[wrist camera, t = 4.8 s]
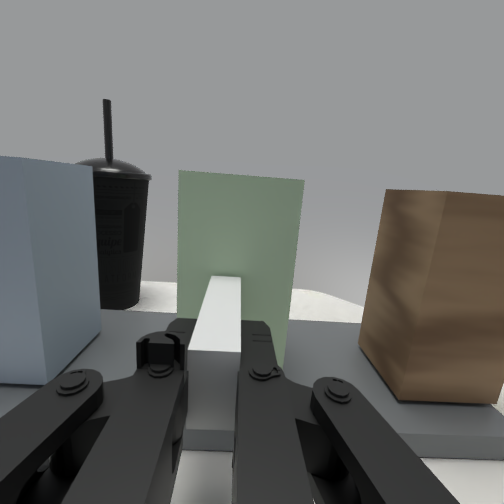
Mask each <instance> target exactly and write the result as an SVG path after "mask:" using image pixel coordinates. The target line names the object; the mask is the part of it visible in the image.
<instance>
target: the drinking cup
mask: <svg viewBox="0 0 504 504" xmlns="http://www.w3.org/2000/svg"><path fill="white" fill-rule="evenodd" d="M103 115H104V116H103V117H104V137H105V138H104V139H105V158H96V159H88V160H84V161H80V162H78V163H76V164H78V165H86V166H92V172H93V189H94V207H95V224H96V242H97V259H98V277H99V294H100V309H107V310H122V309H126V308H129V307H132V306H134V305H135V304H137V303H138V301H139V295H140V282H141V270H142V258H143V245H144V233H145V221H146V208H147V196H148V184H149V180H151V179H152V178H151V177H152V176H151V175H150V174H146V173H145V172H144V171H142V170H140V169H139V168H138V167H136V166H134V165H132V164H129V163H126V162H123V161H120V160H116V159H113V143H112V142H113V141H112V116H111V101H110V100H107V99H103Z"/></svg>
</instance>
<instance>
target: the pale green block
mask: <svg viewBox="0 0 504 504" xmlns="http://www.w3.org/2000/svg"><path fill="white" fill-rule="evenodd" d="M304 182H305V181H304V180H297V179H283V178H271V177H259V176H258V177H257V176H246V175H233V174H220V173H208V172H195V171H182V170H179V190H178V264H177V267H178V268H177V272H178V273H177V318H193V319H198V316H199V313H200V310H201V307H202V304H203V300H204V297H205V294H206V291H207V288H208V285H209V282H210V279H211V276H228V277H241V320H252V321H264V322H265V323H266V324H267V325H268V326H269V327H270V330H271V336H272V340H273V345H274V350H275V355H276V359H277V364H278V366H279V367H281V368H282V370H283V363H284V354H285V346H286V337H287V328H288V320H289V311H290V302H291V294H292V285H293V277H294V267H295V259H296V250H297V241H298V233H299V224H300V215H301V207H302V198H303V190H304Z"/></svg>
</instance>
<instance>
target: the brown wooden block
mask: <svg viewBox="0 0 504 504" xmlns="http://www.w3.org/2000/svg"><path fill="white" fill-rule="evenodd" d="M358 344H359V346H360V347H361V348H362V350H363V351H364V352H365V354H366V355H367V357H368V358H369V359H370V361H371V362H372V364H373V365H374V366H375V368H376V369H377V371H378V372H379V373H380V375H381V376H382V377H383V379H384V380H385V382H386V383H387V384H388V386H389V387H390V389H391V390H392V391H393V393H394V394H395V395H396V397H397V398H398V400H412V401H436V402H460V403H483V404H497V401H498V398H499V395H500V392H501V389H502V386H503V383H504V196H501V195H488V194H476V193H463V192H462V193H461V192H450V191H423V190H391V189H386V193H385V198H384V203H383V209H382V214H381V220H380V225H379V230H378V236H377V241H376V247H375V252H374V257H373V263H372V268H371V274H370V279H369V285H368V290H367V296H366V301H365V307H364V312H363V317H362V323H361V328H360V334H359V339H358Z"/></svg>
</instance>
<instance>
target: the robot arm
mask: <svg viewBox="0 0 504 504" xmlns="http://www.w3.org/2000/svg"><path fill="white" fill-rule="evenodd" d="M136 362H137V369H136V371H135V372H134V374H133V375H132V376H130V377H126V378H122V379H118V380H112V381H107V382H103V376H102V375H101V373H100V372H98V371H96V370H94V369H78V370H72V371H69V372H66V373H64V374H61V375H59V376H58V377H56V378H54V379H52V380H51V381H49V382H48V383H47V384H45V385H44V386H43V387H41V388H40V389H39V390H37V391H36V392H35V393H33V394H32V395H30V396H29V397H28V398H26V399H25V400H24V401H22V402H21V403H20V404H18V405H17V406H16V407H14V408H13V409H12V410H10V411H9V412H8V413H6V414H5V415H3V416H2V417H1V418H0V504H170V502H171V497H172V493H173V488H174V484H175V479H176V475H177V470H178V465H179V461H180V456H181V452H182V447H183V430H184V425H185V421H186V429H199V430H235V431H234V445H233V459H232V468H233V475H232V504H314V501H315V504H460V503H459V502H458V501H457V500H456V499H455V497H454V496H453V495H452V494H451V493H450V492H449V491H448V490H447V488H446V487H445V486H444V485H443V484H442V483H441V482H440V481H439V479H438V478H437V477H436V476H435V475H434V474H433V473H432V472H431V471H430V469H429V468H428V467H427V466H426V465H425V464H424V463H423V462H422V460H421V459H420V458H419V457H418V456H417V455H416V454H415V453H414V451H413V450H412V449H411V448H410V447H409V446H408V445H407V444H406V442H405V441H404V440H403V439H402V438H401V437H400V436H399V435H398V433H397V432H396V431H395V430H394V429H393V428H392V427H391V426H390V424H389V423H388V422H387V421H386V420H385V419H384V418H383V417H382V416H381V414H380V413H379V412H378V411H377V410H376V409H375V408H374V407H373V405H372V404H371V403H370V402H369V401H368V400H367V399H366V398H365V396H364V395H363V394H362V393H361V392H360V391H359V390H358V389H357V388H356V387H355V386H353V385H352V384H351V383H349V382H347V381H345V380H343V379H340V378H336V377H322V378H319V379H317V380H316V381H315V382H314V383H313V388H311V387H308V386H304V385H301V384H298V383H295V382H293V381H291V380H289V379H287V378H286V377H285V374H284V372H283V370H282V368H281V367H279V366H278V364H277V359H276V355H275V350H274V345H273V340H272V336H271V330H270V327H269V326H268V325H267V324H266V323H265V322H264V321H252V320H241V277H228V276H211V279H210V282H209V285H208V288H207V291H206V294H205V297H204V300H203V304H202V307H201V310H200V313H199V316H198V319H193V318H176V319H175V320H174V321H172V322H171V323H169V325H168V327H167V329H166V331H157V332H153V333H149V334H147V335H145V336H143V337H141V338H140V339H139V340H138V341H137V342H136ZM313 499H314V501H313Z"/></svg>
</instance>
